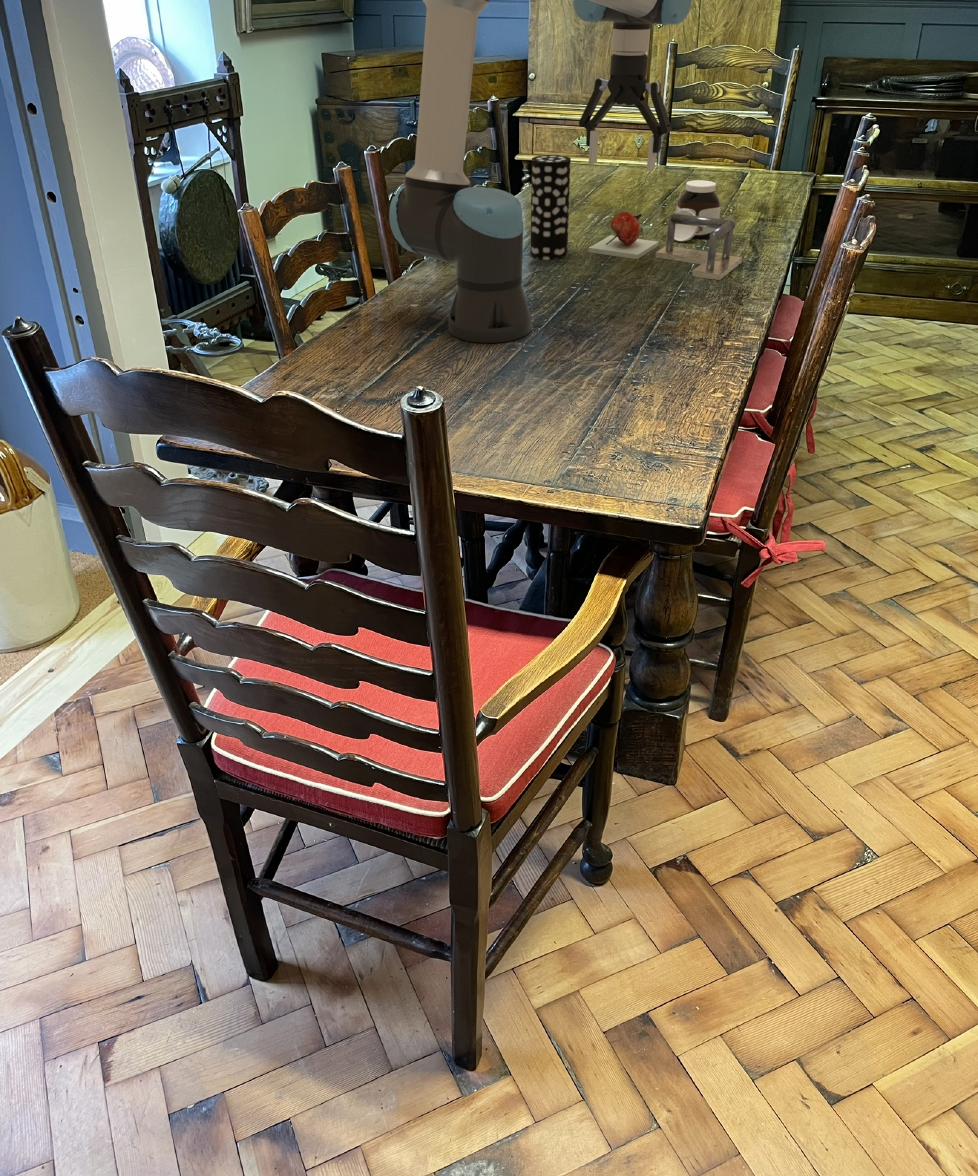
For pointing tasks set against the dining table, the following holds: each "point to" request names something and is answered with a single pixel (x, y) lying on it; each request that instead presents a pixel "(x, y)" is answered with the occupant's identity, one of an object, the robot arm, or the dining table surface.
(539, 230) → the white-spotted black cylinder
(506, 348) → the dining table surface
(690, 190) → the spread jar
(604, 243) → the pad
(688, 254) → the buzz wire
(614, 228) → the pomegranate
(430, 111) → the robot arm
